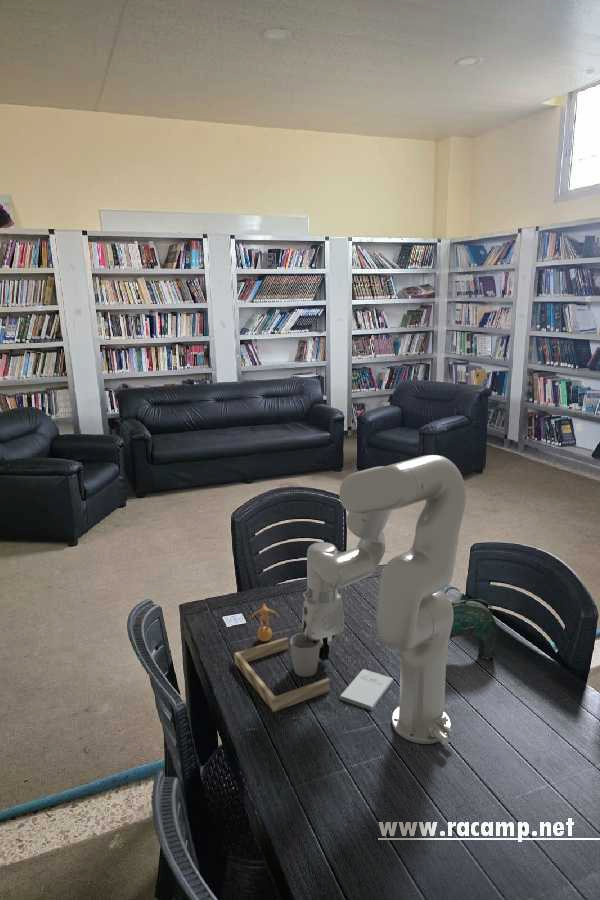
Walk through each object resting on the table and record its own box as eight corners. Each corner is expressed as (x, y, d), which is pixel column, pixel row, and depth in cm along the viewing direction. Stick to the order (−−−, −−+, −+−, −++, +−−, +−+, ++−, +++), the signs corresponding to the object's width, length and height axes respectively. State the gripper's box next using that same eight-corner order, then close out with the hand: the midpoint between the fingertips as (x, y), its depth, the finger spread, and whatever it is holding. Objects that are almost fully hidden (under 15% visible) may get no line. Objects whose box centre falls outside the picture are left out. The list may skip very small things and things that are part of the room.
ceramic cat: (420, 665, 157) (423, 592, 153) (415, 650, 164) (418, 581, 159) (498, 662, 158) (503, 590, 153) (489, 648, 164) (494, 579, 159)
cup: (290, 680, 152) (290, 649, 150) (289, 657, 161) (288, 628, 159) (321, 679, 152) (321, 648, 150) (318, 656, 162) (318, 626, 160)
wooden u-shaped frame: (329, 691, 147) (329, 680, 147) (273, 711, 140) (273, 700, 140) (286, 647, 166) (286, 637, 165) (234, 663, 159) (234, 652, 158)
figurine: (279, 635, 172) (278, 595, 169) (281, 647, 166) (280, 606, 163) (249, 637, 171) (247, 598, 168) (250, 649, 165) (248, 608, 162)
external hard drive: (339, 701, 145) (362, 673, 155) (372, 712, 141) (393, 683, 151) (339, 695, 144) (362, 668, 155) (372, 706, 140) (393, 677, 151)
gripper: (303, 605, 148) (304, 673, 152) (356, 591, 154) (355, 656, 159) (288, 592, 154) (289, 658, 159) (340, 579, 161) (339, 642, 165)
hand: (322, 657), depth 159 cm, fingers closed
